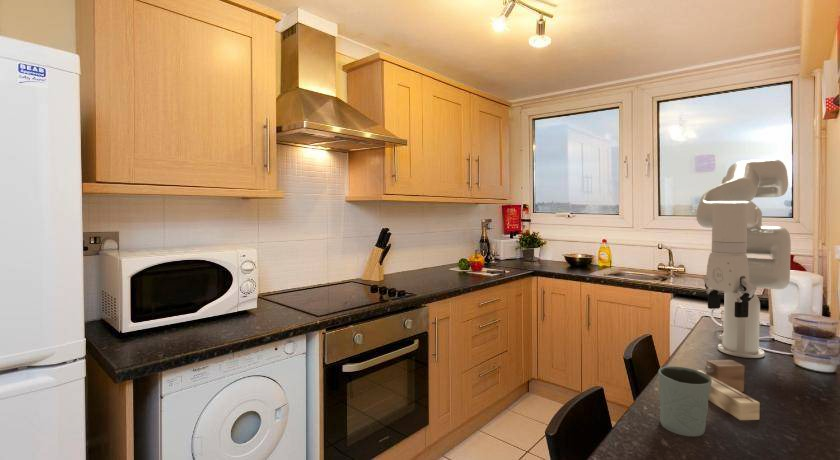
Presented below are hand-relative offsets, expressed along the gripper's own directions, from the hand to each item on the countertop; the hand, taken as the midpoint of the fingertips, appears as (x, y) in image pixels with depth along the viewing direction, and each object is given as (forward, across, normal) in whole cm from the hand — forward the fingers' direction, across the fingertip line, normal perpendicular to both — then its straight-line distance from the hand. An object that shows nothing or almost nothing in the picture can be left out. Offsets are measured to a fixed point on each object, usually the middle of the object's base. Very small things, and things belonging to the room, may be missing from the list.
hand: (727, 312), depth 116 cm
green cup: (+21, +19, -24) cm, 37 cm away
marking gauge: (+21, 0, 0) cm, 21 cm away
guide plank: (+21, +7, -7) cm, 23 cm away
